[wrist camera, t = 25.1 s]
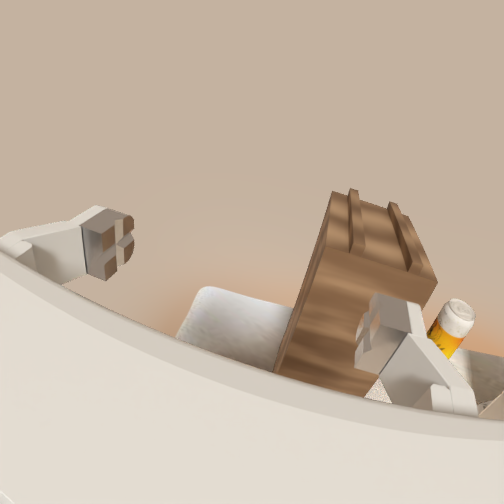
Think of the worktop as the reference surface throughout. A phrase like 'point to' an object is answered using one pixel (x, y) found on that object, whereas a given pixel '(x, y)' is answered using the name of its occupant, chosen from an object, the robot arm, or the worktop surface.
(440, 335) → the beer can
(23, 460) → the robot arm
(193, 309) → the worktop surface
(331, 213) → the wooden slab
